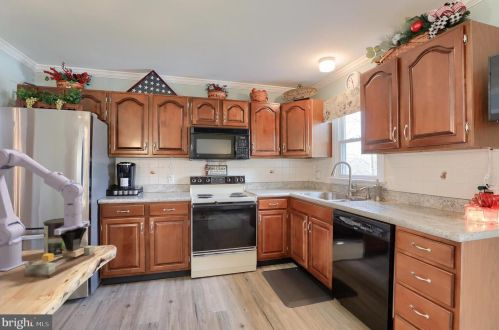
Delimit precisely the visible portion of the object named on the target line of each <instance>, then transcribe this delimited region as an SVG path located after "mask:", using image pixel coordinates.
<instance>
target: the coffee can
mask: <svg viewBox="0 0 499 330" xmlns="http://www.w3.org/2000/svg"><path fill="white" fill-rule="evenodd" d="M62 226H64V217H61V218H53V219H47V220H45V221H43V255H44V254H47V253H52V254H54V258H58V257H63V256H62V251H63V250H66V247H65V244H64V242H63V240H62V238H61V237H60V236H59V235H54V230H55V229H58V228H60V227H62Z"/></svg>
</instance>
